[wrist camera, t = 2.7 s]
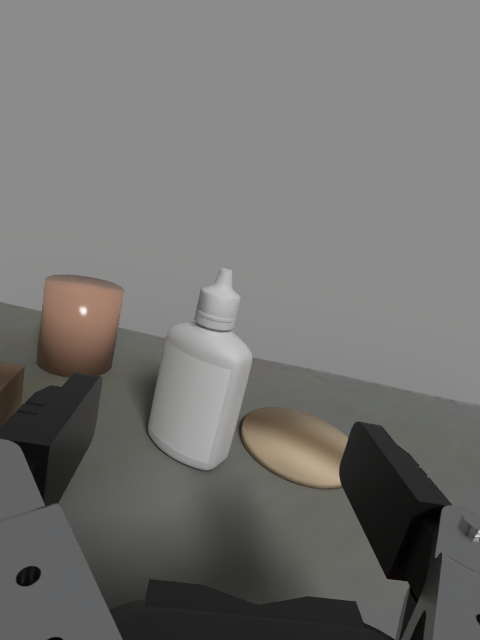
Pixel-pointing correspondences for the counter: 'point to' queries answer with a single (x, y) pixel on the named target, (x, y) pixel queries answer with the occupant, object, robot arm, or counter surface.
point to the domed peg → (78, 325)
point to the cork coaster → (295, 446)
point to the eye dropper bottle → (201, 381)
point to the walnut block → (10, 390)
